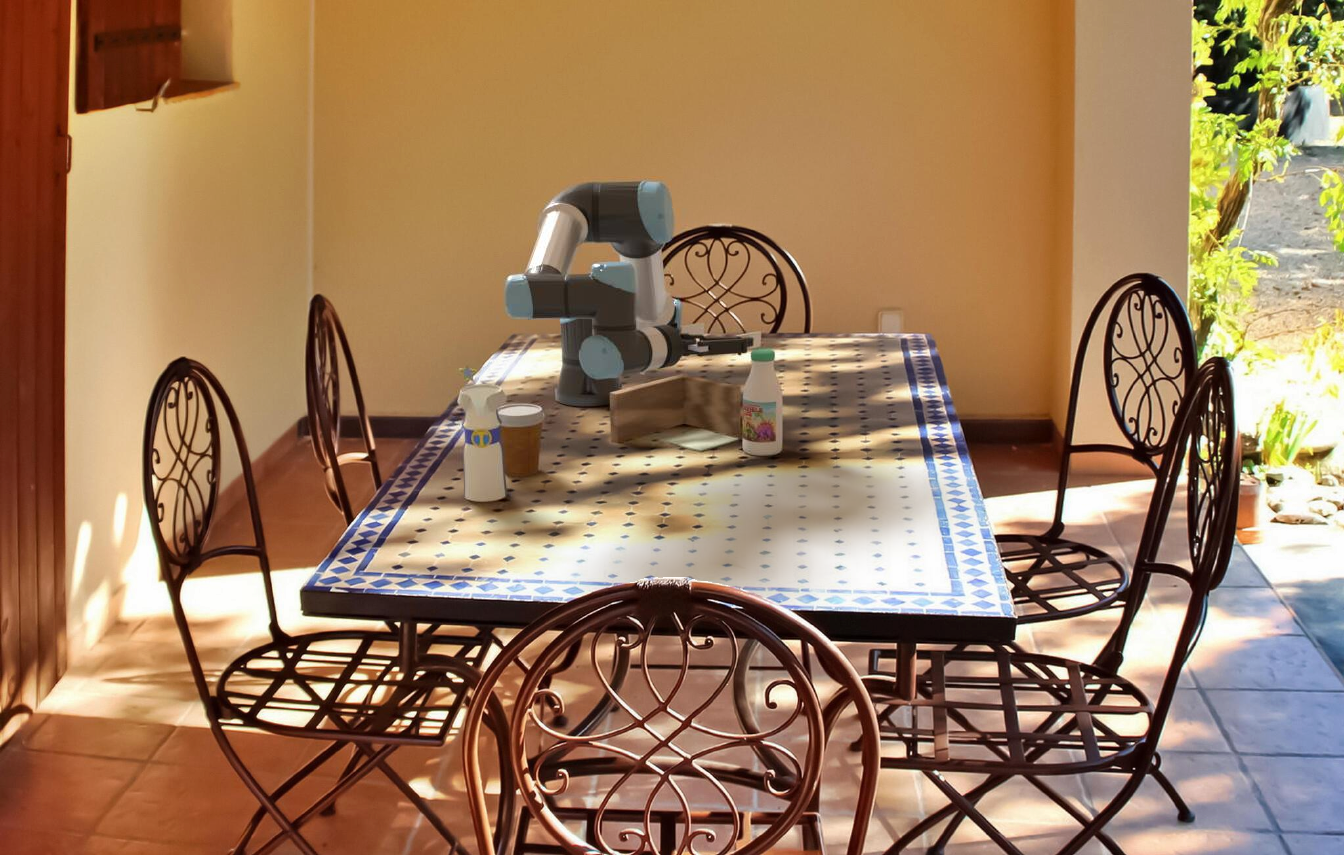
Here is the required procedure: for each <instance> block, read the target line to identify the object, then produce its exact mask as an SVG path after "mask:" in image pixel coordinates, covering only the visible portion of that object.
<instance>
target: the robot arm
mask: <svg viewBox="0 0 1344 855" xmlns="http://www.w3.org/2000/svg"><path fill="white" fill-rule="evenodd" d="M536 228H537V233H538V235H537V239H536V241H535V244H534V247H533V248H532V253H531V255H530V258H529V260H528V264H527V267H526V269H525V271H524V273H519V274H511V275H509V276H508V277H507V278H506V279H505V286H504V304H505V310H506V314H507V315H508V316H509V317H510V318H512V319H520V320H521V319H523V320H525V319H526V320H528V321H529V320H559V323H560V332H561V333H560V334H561V361H562V364H561V365H562V366H561V369H560V373H559V378H558V382H557V385H556V386H555V389H554V390H555V393H554V394H555V395H554V396H555V400H556V401H557V402H558V403H560V404H563V405H568V406H574V407H598V406H599V407H600V406H605V405H606V406H607V405H610V392H614V391H618V390H622V389H624V385H623V384H622V382H621V378H620V377H623V376H629V375H633V374H637V373H639V375H643V376H644V375H645V374H646V372H647V371H652V370H659V369H664V368H665V369H666V368H670V367H673V366H675V365H677V363H678V362H679V361H680V360H681V359H682V357H689V356H691V355H696V356H698V357H702V358H703V357H707V356H714V355H715V356H716V355H718V356H719V355H733V354H735V355H736V354H737V356H742V354H747V353H748V349H749V350H750V349H754V348H759V347H760V348H761V346H762V344H761V342H762V331H753V332H751V331H750V332H746V333H741V334H735V336H713V337H712V336H710V337H709V336H708V337H707V336H706V337H705V322H697V323H690V324H685V325H682V319H683V318H682V317H683V316H682V315H683V313H682V312H683V309H682V308H683V305H682V301H681V300H680V299H676V298H673V296H672V295H671V294H670V293H669V291H667V289H666V281H665V280H666V279H665V270H664V262H663V253H662V249H663V248H664V247H665V244H666V243H669V242H671V241H672V240H673V237H674V233H675V232H674V231H675V215H674V210H673V200H672V196H671V193H670V190H669V187H668V186H667V185H666V184H665V183H663V182H661V181H650V180H643V181H639V180H638V181H596V182H595V181H585V182H581V183H578V184H575V185H572V186H570V187H568V188H565V189H564V190H562V191H561V192H558V193H557V194H556V195H555V196H553V197H552V198H551V199H549V201H548V202H547V203H546V204H545V205H544V207H543V208H542V210H541V211H540V215H539V217H538V219H537V227H536ZM585 243H587V244H588V243H590V244H592V243H596V244H604V243H606V244H607V243H608V244H610V246H611V248H612V249H613V250H614V252H616V254H618V256H619V261H607V262H606V261H601V262H595V263H593V264H592V265H591V267H590V268H591V270H590V272H589V273H575V274H572V273H571V270H572V268H573V267H572V266H573V264H574V261H575V256H576V254H577V251H578V248H579V247H580V246H581V245H583V244H585ZM697 339H699V340H698V341H697Z"/></svg>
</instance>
